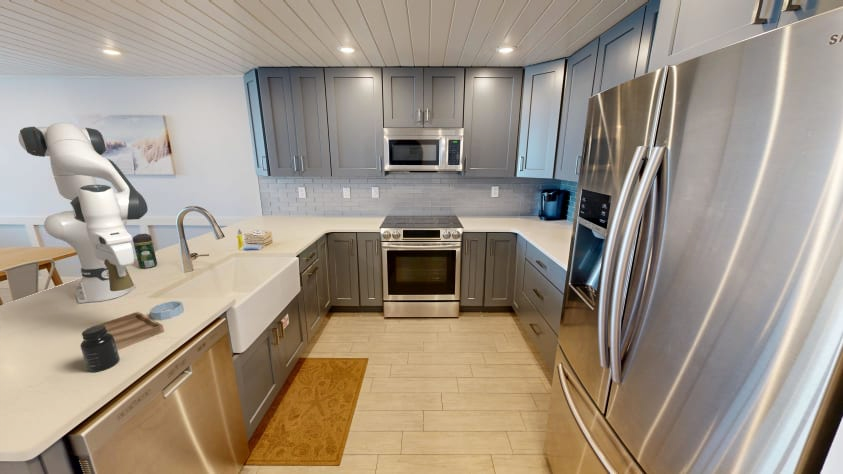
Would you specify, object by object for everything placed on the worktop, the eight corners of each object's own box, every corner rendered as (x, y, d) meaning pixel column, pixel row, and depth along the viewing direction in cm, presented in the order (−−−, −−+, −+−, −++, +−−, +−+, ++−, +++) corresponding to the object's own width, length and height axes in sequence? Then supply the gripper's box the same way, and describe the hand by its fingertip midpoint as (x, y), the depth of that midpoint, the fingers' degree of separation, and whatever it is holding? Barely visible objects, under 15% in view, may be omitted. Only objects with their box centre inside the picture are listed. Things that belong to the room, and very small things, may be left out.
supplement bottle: (102, 358, 95) (92, 323, 92) (126, 357, 96) (117, 322, 93) (80, 373, 88) (69, 336, 85) (106, 372, 89) (95, 335, 86)
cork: (119, 291, 102) (110, 260, 100) (105, 290, 103) (96, 259, 101) (138, 284, 108) (131, 254, 106) (125, 283, 109) (117, 254, 107)
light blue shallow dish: (147, 316, 120) (145, 309, 120) (176, 305, 129) (175, 299, 128) (159, 322, 116) (157, 315, 115) (188, 311, 124) (187, 304, 123)
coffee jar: (139, 265, 176) (132, 233, 171) (157, 262, 181) (150, 231, 176) (138, 270, 169) (131, 237, 164) (157, 267, 174) (150, 235, 169)
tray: (88, 335, 107) (86, 328, 107) (139, 317, 119) (137, 311, 119) (111, 352, 98) (109, 345, 97) (164, 331, 110) (162, 325, 109)
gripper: (82, 233, 103) (93, 272, 107) (107, 241, 94) (118, 283, 97) (108, 229, 109) (117, 266, 112) (134, 236, 99) (143, 276, 103)
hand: (118, 274), depth 105 cm, fingers closed on cork, 4 cm apart
